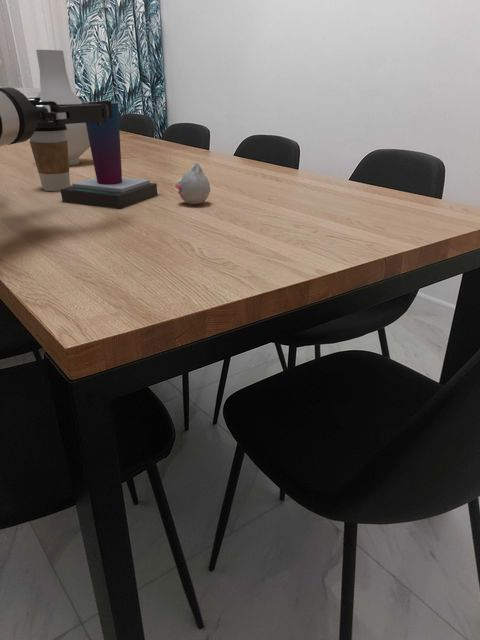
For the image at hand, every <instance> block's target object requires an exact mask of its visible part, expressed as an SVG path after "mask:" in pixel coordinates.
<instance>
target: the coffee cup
mask: <svg viewBox="0 0 480 640" xmlns="http://www.w3.org/2000/svg"><path fill="white" fill-rule="evenodd" d="M50 121H52V119H50V120H49V122H50ZM65 130H67V128H66V125H62V126H58V125H57V126H43V127H42V128H36V129H35V132H34V134H33V135H32V137H31V138H30V139H29V145H30V148H31V152H32V154H33V159H34V162H35V165H36V169H37V172H38V175H39V179H40V183H41V184H40V185H41V187H42V190H43V191H47V192H61V190H60V189H64V188H67V187H71V176H70V165H69V159H68V144H67V140H66V131H65Z"/></svg>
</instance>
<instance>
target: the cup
mask: <svg viewBox="0 0 480 640" xmlns="http://www.w3.org/2000/svg"><path fill="white" fill-rule="evenodd" d="M89 102H90V101H82V104H89ZM94 102H97V101H96V100H95V101H94ZM111 105H112V114H113V118H108V121H106V122H103V121H102V122H101V125H96V124H95V122H88V123H86V127H87V132H88V137H89V143H90V147H89V148H90V152H91V157H92V164H93V168H94V173H95V177H96V178H97V183H99V184H105V185H111V184H119V183H122V177H123V170H122V152H121V151H122V150H121V132H120V112H119V102H118V101H111Z"/></svg>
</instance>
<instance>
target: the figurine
mask: <svg viewBox="0 0 480 640" xmlns="http://www.w3.org/2000/svg"><path fill="white" fill-rule="evenodd" d="M174 186H175V187H176V189H177V194H179V196H180V198H181V200H183V201H184V202H185V203H186V204H187V203H188V204H190V205H199V204H202V203H204V202H205V201H207V199H208V197H209V196H210V192H211V186H210V181H209V179H208V177H207V176H206V175H205V173H204V172H203V168H202V167H201V165H200V163H198V162H196V163H194V164H193V166H192V167H191V169H190V170H188V171H187V172H186V173H184V174H183V175H182V176H181V177H180V178H179V180H178V182H177V183H176V184H175V185H174Z"/></svg>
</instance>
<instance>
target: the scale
mask: <svg viewBox="0 0 480 640" xmlns="http://www.w3.org/2000/svg"><path fill="white" fill-rule="evenodd" d="M60 190H61V191H60V196H61V201H62V203H70V204H77V205H87V206H93V207H102V208H109V209H110V208H111V209H118V210H120V209H123V208H126V207H130V206H132V205H135V204H137V203H140V202H142V201H145V200H148V199H151V198H153V197H157V196H158V184H157V183H155V182H151V180H150V179H143V178H136V177H135V178H134V177H133V178H132V177H125V176H122V183H119V184H111V185H105V184H99V183H97V178H96V176H94V177H92V178H87V179H83V180H81V181H76V182H73V183H72V184H71V185H70V187H67V188H64V189H60Z"/></svg>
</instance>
